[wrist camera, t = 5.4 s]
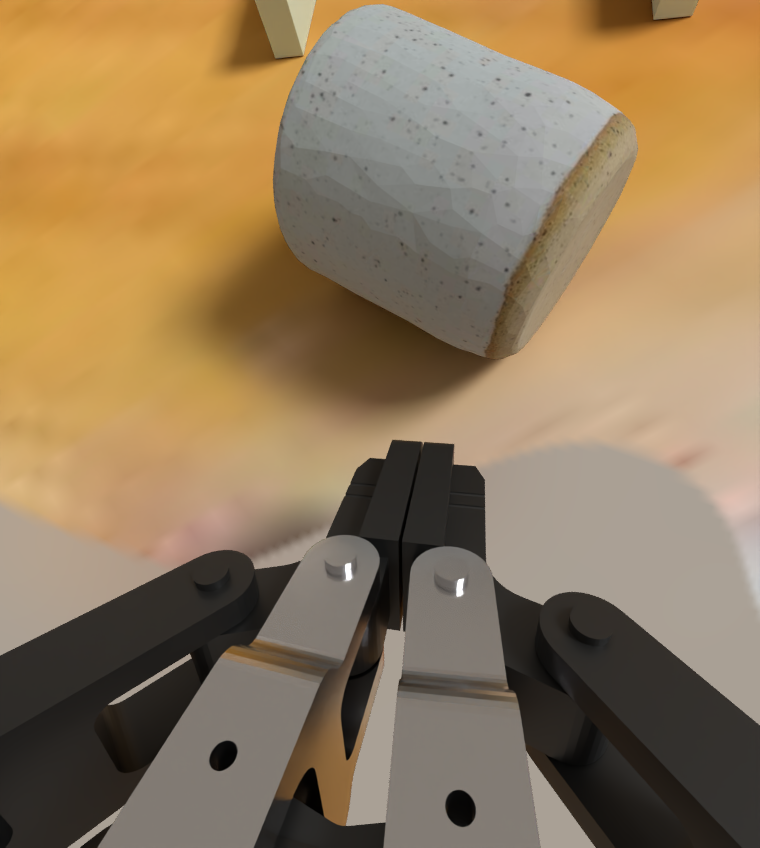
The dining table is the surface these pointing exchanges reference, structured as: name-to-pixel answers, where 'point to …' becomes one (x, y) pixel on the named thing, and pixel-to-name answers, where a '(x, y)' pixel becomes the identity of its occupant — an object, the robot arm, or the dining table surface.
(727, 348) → the dining table surface
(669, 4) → the u-shaped bracket
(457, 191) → the ceramic mug
